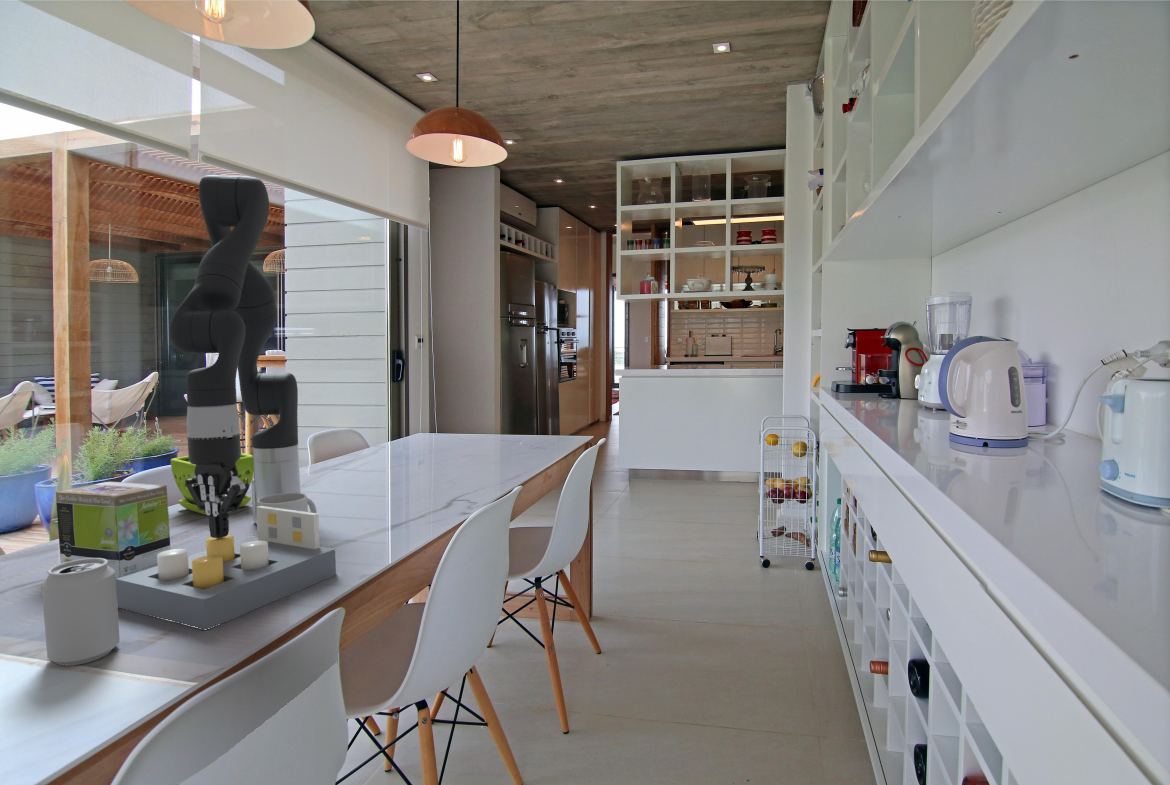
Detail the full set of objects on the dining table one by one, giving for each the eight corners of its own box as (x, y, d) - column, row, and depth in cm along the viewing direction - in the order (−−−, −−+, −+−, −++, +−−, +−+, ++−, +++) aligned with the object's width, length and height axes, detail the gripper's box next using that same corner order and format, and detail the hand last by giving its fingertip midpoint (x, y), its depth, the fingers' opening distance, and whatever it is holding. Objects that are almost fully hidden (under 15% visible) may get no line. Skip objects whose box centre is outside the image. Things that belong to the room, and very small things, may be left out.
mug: (260, 558, 123) (257, 505, 122) (258, 544, 131) (256, 495, 130) (322, 549, 128) (320, 498, 127) (317, 536, 136) (315, 488, 135)
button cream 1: (153, 586, 101) (151, 555, 101) (178, 578, 105) (176, 547, 105) (170, 590, 100) (168, 558, 99) (195, 581, 103) (193, 550, 103)
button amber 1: (202, 570, 109) (200, 540, 108) (224, 562, 112) (222, 533, 112) (218, 573, 107) (217, 543, 107) (240, 565, 111) (239, 536, 110)
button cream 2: (235, 577, 105) (234, 546, 105) (257, 568, 109) (255, 539, 109) (253, 580, 104) (251, 549, 103) (274, 572, 107) (273, 542, 107)
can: (73, 642, 89) (67, 555, 88) (132, 640, 90) (126, 553, 89) (32, 670, 82) (24, 575, 81) (96, 667, 82) (89, 573, 81)
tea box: (174, 563, 121) (169, 483, 120) (119, 582, 111) (113, 496, 110) (115, 555, 126) (110, 478, 124) (58, 573, 116) (52, 490, 115)
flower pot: (171, 510, 159) (168, 458, 158) (230, 498, 170) (227, 449, 169) (200, 518, 151) (196, 463, 150) (259, 505, 162) (256, 454, 161)
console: (117, 607, 101) (113, 540, 100) (254, 559, 122) (251, 503, 121) (205, 630, 92) (201, 557, 91) (336, 574, 114) (333, 514, 113)
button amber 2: (187, 594, 98) (185, 562, 98) (212, 585, 102) (210, 553, 101) (205, 599, 96) (203, 565, 96) (230, 589, 100) (228, 557, 100)
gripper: (165, 433, 107) (171, 538, 108) (220, 437, 102) (226, 548, 103) (208, 428, 114) (213, 526, 115) (262, 431, 108) (267, 535, 110)
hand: (219, 536), depth 109 cm, fingers closed
